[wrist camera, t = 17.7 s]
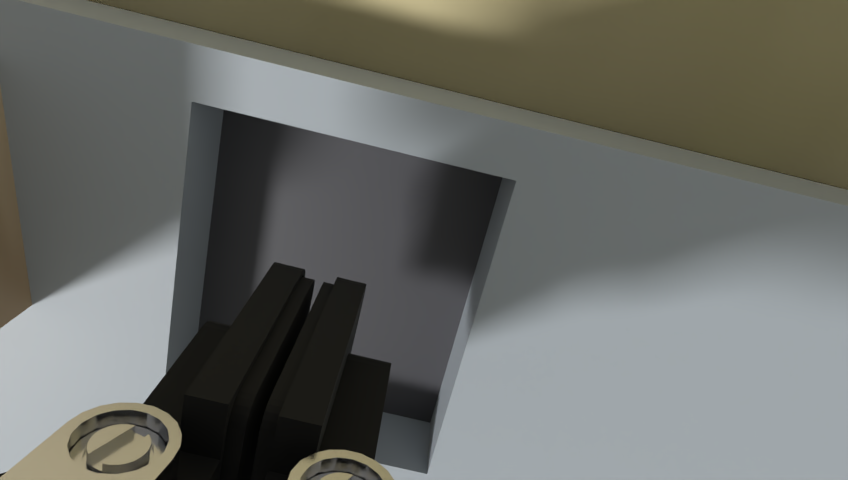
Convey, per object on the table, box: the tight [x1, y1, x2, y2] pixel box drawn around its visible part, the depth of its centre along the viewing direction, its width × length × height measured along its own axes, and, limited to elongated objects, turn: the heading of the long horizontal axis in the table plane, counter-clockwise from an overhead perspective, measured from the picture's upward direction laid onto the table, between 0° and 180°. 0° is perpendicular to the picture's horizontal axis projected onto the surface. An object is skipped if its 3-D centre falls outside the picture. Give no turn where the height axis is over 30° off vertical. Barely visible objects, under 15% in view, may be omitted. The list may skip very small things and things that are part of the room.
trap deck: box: [0, 0, 848, 480], centre depth 13 cm, size 36×18×6 cm, turn 77°
